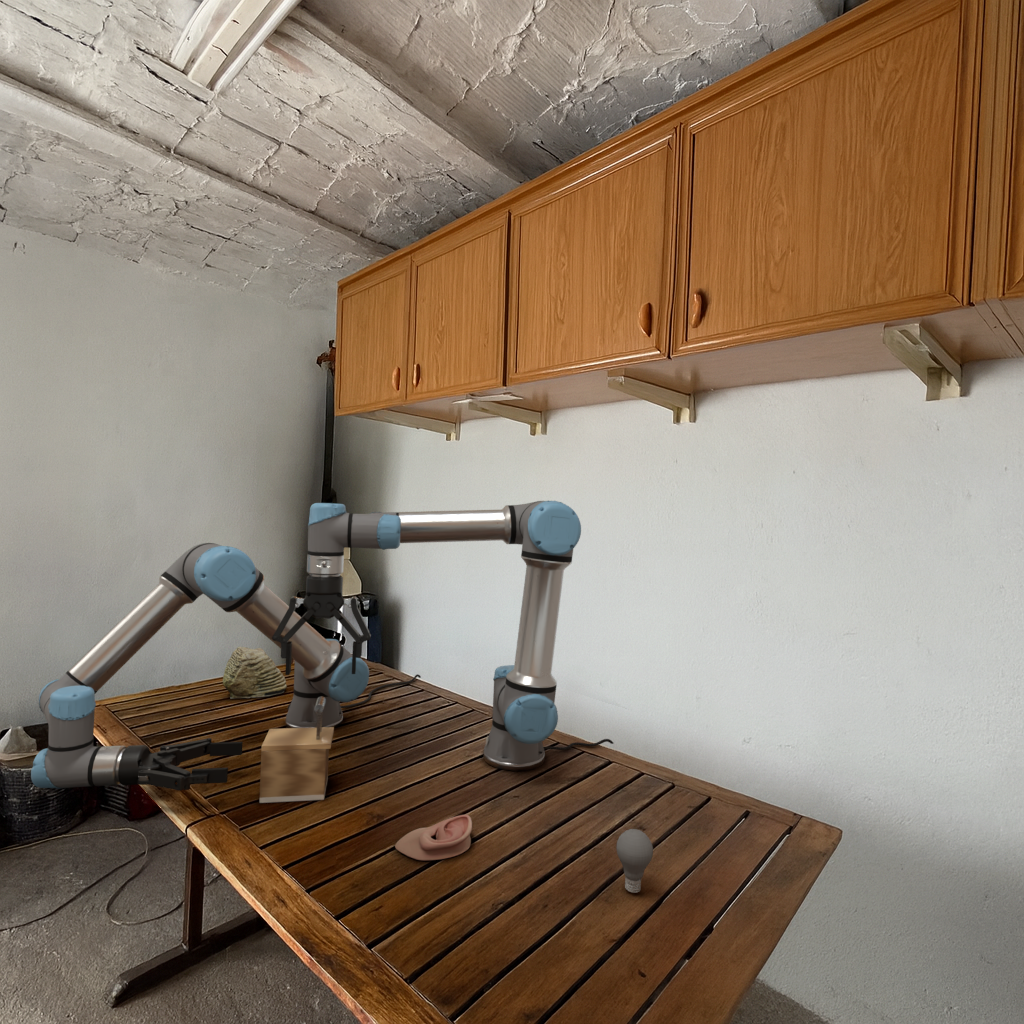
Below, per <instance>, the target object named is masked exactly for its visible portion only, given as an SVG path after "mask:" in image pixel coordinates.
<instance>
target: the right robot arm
mask: <svg viewBox="0 0 1024 1024" xmlns="http://www.w3.org/2000/svg"><path fill="white" fill-rule="evenodd" d="M308 517H309V518H308V523H307V529H308V530H307V559H306V573H307V574H309V575H307V576H306V581H305V582H306V585H305V596H304V597H298V596H297V595H292V596H291V598H290V600H289V605H288V606H289V609H288V610H287V612H286V614H285V616H284V617H283V619H282V621H281V623H280V624H279V626H278V628H277V630H276V631H275V633H274V635H273V637H272V639H273V640H274V641H278V642H280V643H281V648H280V658H281V659H285V674H284V675H285V676H289V675H291V673H292V657H291V655H292V641H288V640H289V639H290V638H291V637H292V636H293V635H294V634H295V633H296V632H297V631H298V630H299V629H300V628H301V626H302V625H303V624H304V623H305V622H308V621H309V620H310V618H311V617H313V618H314V619H316V620H317V619H322V618H323V619H326V620H327V619H329V620H330V619H332V618H335V619H336V620H337V621H338V622H339V623H340V624H341V625H342V626H343V628H344V629H345V631H347V633H348V634H349V635H350V636H351V637H352V639H353V642H352V653H351V654H352V674H355V672H356V658H361V657H362V655H363V643H364V642H367V641H370V640H371V637H372V634H371V632H370V630H369V628H368V626H367V623H366V622H365V619H364V617H363V615H362V613H361V611H360V609H359V607H358V598H357V596H352V597H349V598H348V597H347V598H344V596H343V590H344V589H343V587H344V577H343V575H342V574H343V573H344V564H345V563H344V562H345V549H346V548H347V549H352V548H353V549H371V550H373V549H374V550H376V549H377V550H383V551H385V550H397V549H399V547H400V546H401V544H417V543H418V544H420V543H421V544H422V543H423V544H424V543H426V544H427V543H456V542H459V543H461V542H462V543H463V542H491V541H492V542H493V541H494V542H495V541H503V542H504V544H506V545H520V546H521V554H520V558H521V559H522V561H523V562H524V563H525V565H526V567H525V576H524V583H523V585H524V586H523V592H522V600H521V606H520V607H521V608H520V616H519V623H518V633H517V640H516V649H515V657H514V664H507V665H500V666H497V667H496V668H495V669H494V676H493V694H492V695H493V700H492V716H491V717H492V719H491V728H490V731H489V733H488V735H487V736H486V738H485V745H484V748H483V756H482V757H483V760H484V762H486V764H488V765H490V766H491V767H494V768H496V769H500V770H505V771H511V772H512V771H513V772H519V771H520V772H521V771H530V770H533V769H536V768H538V767H540V766H542V765H544V763H545V760H546V759H545V758H546V757H545V756H546V752H545V750H556V751H566V750H569V749H571V748H572V747H574V746H580V747H588V748H591V747H592V748H593V747H597V746H599V745H601V744H603V743H607V742H608V743H609V744H611V745H613V744H614V742H613V741H612V740H611V739H610V738H604V739H601V740H599V741H597V742H594V743H593V742H592V743H587V742H585V743H584V742H577V741H576V742H571V743H570V744H568V745H566V746H544V744H543V742H544V741H546V739H548V738H549V737H551V735H552V734H554V732H555V730H556V728H557V726H558V723H559V713H558V708H557V706H556V704H555V701H556V692H557V687H558V681H557V679H556V678H555V677H554V675H553V674H552V671H553V663H554V654H555V646H556V638H557V630H558V623H559V615H560V614H559V613H560V607H561V597H562V589H563V581H564V573H565V572H564V571H565V570H566V568H568V567H569V566H570V565H571V564H572V563H573V555H574V548H576V546H577V545H578V543H579V541H580V538H581V535H582V525H581V520H580V518H579V516H578V514H577V513H576V512H575V510H574V508H572V507H571V506H569V505H567V504H566V503H564V502H562V501H558V500H537V501H532V502H527V503H522V504H512V505H510V504H509V505H508V504H507V505H504V507H503V508H502V509H471V510H470V509H469V510H465V509H464V510H428V511H427V510H426V511H397V512H396V511H388V512H387V511H385V512H384V511H383V512H382V511H372V512H370V513H350V512H347V509H346V505H345V504H343V503H333V502H315V503H312V504H311V506H310V508H309V516H308ZM302 604H303V606H304V607H305V608H306V610H307V611H306V612H305V613H304V614H303V615H302V616H300V617H301V618H300V620H299V621H298V622H297V623H296V624H295V625H294V626H293V627H292V628H291V629H290V630H289V631H288V632H287V634H286V635H285V636H284V635H281V633H282V632H283V630H284V628H285V626H286V625H287V623H288V621H289V619H290V617H291V616H292V614H293V612H294V611H296V609H297V608H299V607H300V606H301V605H302ZM344 605H346V606H347V608H349V609H351V613H352V614H353V617H354V618H355V621H356V622H357V625H358V628H359V629H360V631H361V634H362V635H361V634H360V633H359V631H358V630H357V629H356V628H355V626H354V625H353V624H352V623H351V621H350V620H349V619H348V618H347V617H346V616H345V614H344V613H343V611H341V609H342V607H343V606H344ZM361 659H362V658H361Z"/></svg>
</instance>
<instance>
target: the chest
mask: <svg viewBox="0 0 1024 1024" xmlns="http://www.w3.org/2000/svg"><path fill="white" fill-rule="evenodd" d="M329 755H330V749H310V750H281V751H260V776H259V777H260V778H259V779H260V780H259V798H258V799H259V801H258V802H259V804H266V803H267V804H268V803H286V802H306V801H307V802H308V801H324V800H325V798H326V797H325V796H326V792H327V786H328V780H329V759H330V758H329V757H330V756H329Z"/></svg>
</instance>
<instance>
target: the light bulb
mask: <svg viewBox="0 0 1024 1024" xmlns="http://www.w3.org/2000/svg"><path fill="white" fill-rule="evenodd" d="M615 849H616V854H617V857H618V859H619V861H620V863H621V865H622V867H623V873H624V874H623V875H624V876H625V878H624V888H625V890H627V891H628V892H630V893H634V894H635V893H639V892H640V891H641V889H642V887H641V886H642V879H643V877H644V875H645V871H646V868H647V867H648V866H649V864H650V863H651V861H652V859H653V855H654V847H653V843H652V841H651V838H649V836H648V835H647V834H646V833H645V832H643V831H642V830H641V829H636V828H629V829H627V830H625V831H623V832H622V833H621V834H620V835H619V837H618V839H617V841H616V847H615Z"/></svg>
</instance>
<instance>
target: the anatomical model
mask: <svg viewBox="0 0 1024 1024" xmlns="http://www.w3.org/2000/svg"><path fill="white" fill-rule="evenodd" d="M472 830H473V821H472V818H471V816H470V815H469V814H459V815H456V816H452V817H450V818H447V819H444V820H442V821H440V822H437V823H436V824H435V823H434V824H433V825H431V826H429V827H420V828H417V829H413V830H412V831H409V832H408V833H406V834H405V835H403V836H402V837H401V838H400V839H399V840H397V842H396V843H395V845H394V848H395V849H396V851H398V852H400V853H401V854H403V855H405V856H406V857H408V858H412V859H414V860H417V861H436V860H437V861H438V860H444V859H450V858H453V857H456V856H459V855H462V854H463V853H464V852H467V851H468V850H469V848H470V847H471V844H472V839H471V833H472Z"/></svg>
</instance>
